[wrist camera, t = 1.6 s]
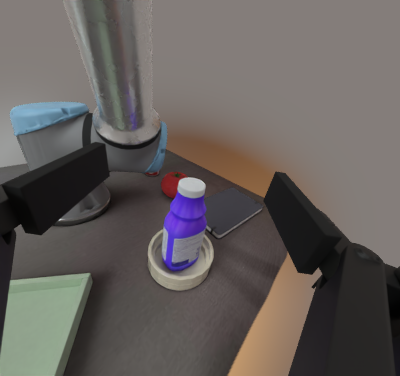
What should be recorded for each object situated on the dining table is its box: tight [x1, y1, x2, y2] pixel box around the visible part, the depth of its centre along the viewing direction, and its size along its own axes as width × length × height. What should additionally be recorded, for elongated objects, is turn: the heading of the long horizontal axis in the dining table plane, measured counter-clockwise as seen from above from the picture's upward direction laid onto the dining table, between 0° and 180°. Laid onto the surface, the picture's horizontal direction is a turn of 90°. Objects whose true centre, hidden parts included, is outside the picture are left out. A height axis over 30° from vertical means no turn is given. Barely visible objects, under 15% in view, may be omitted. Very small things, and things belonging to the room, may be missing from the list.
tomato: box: [161, 172, 188, 199], centre depth 51 cm, size 9×9×8 cm
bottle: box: [162, 178, 207, 271], centre depth 29 cm, size 7×6×17 cm
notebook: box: [204, 187, 263, 239], centre depth 50 cm, size 13×2×21 cm
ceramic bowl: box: [148, 229, 214, 291], centre depth 33 cm, size 12×12×4 cm
